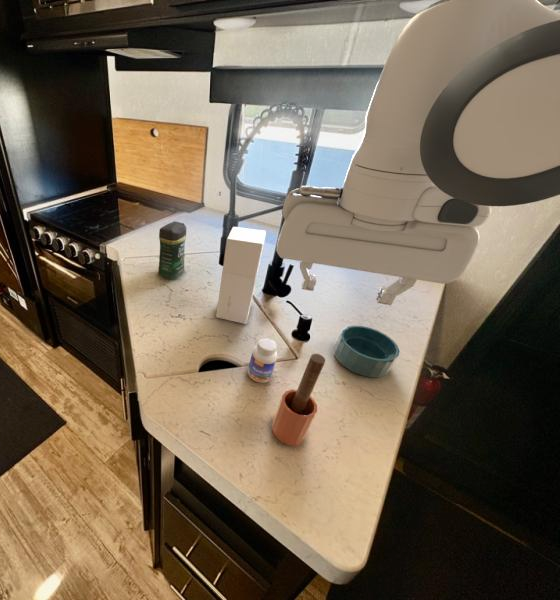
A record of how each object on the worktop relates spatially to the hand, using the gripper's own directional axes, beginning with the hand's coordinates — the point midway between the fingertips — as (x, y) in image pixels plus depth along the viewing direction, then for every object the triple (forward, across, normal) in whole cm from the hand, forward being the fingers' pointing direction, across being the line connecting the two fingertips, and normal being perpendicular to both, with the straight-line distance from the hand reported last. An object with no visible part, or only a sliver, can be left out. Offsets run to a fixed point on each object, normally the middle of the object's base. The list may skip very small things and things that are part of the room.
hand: (343, 294), depth 43 cm
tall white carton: (+33, -17, +35) cm, 51 cm away
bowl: (+33, +16, +27) cm, 45 cm away
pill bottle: (+33, -7, +13) cm, 36 cm away
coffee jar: (+33, -42, +50) cm, 73 cm away
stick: (+32, 0, 0) cm, 32 cm away
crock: (+33, 0, 0) cm, 33 cm away
